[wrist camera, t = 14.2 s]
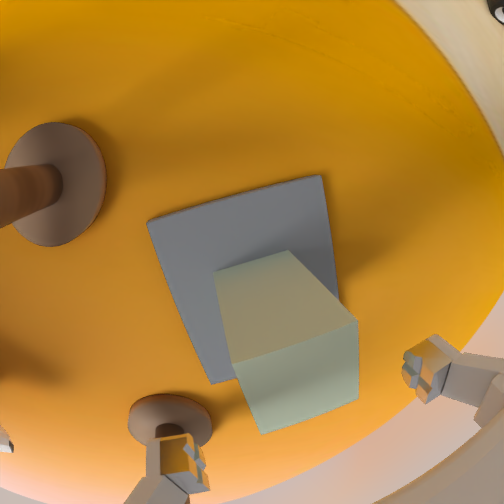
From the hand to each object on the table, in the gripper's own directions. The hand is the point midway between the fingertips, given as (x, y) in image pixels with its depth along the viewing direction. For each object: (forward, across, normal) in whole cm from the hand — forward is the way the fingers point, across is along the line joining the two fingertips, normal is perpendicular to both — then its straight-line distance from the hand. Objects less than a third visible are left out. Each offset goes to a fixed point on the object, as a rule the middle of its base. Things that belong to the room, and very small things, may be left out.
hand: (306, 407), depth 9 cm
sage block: (+9, 0, 0) cm, 9 cm away
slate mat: (+10, -1, 0) cm, 10 cm away
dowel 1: (+10, +9, -10) cm, 17 cm away
